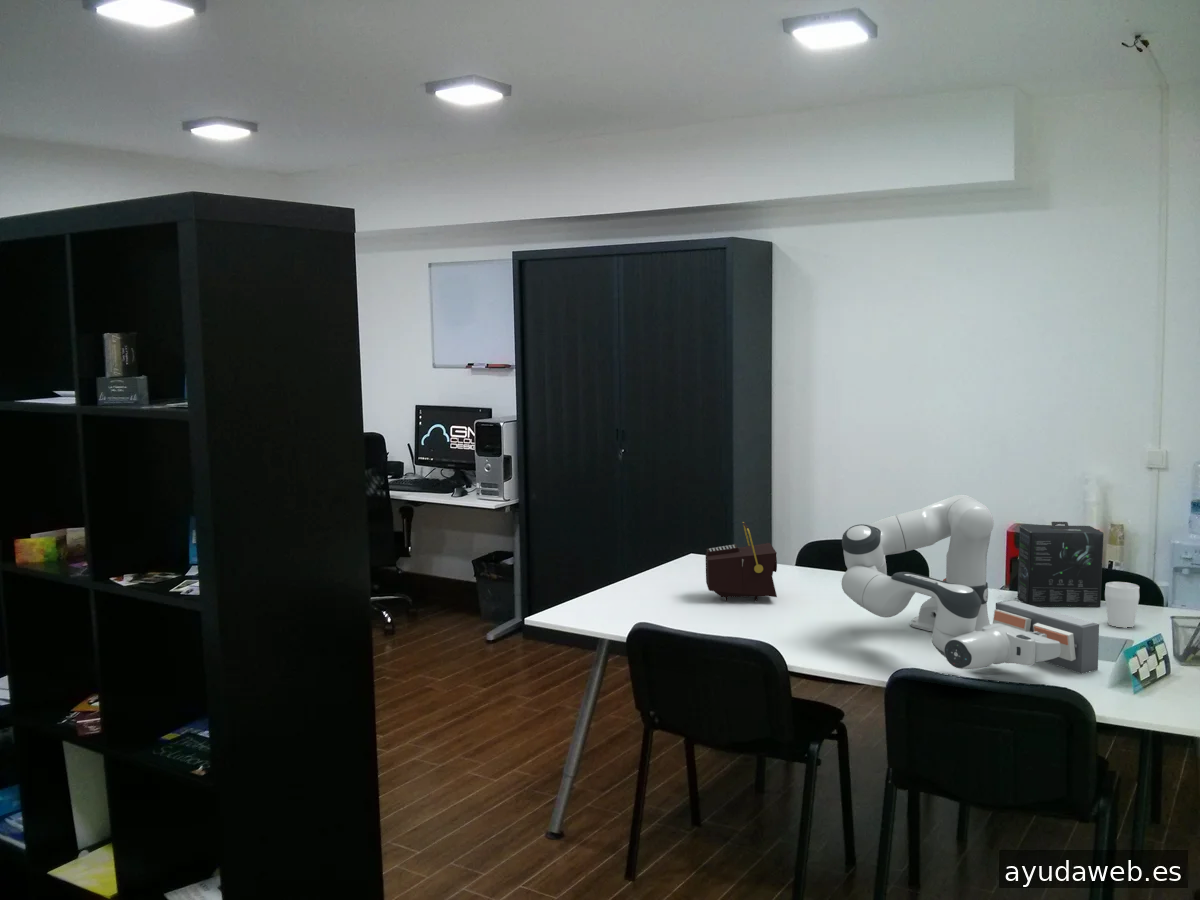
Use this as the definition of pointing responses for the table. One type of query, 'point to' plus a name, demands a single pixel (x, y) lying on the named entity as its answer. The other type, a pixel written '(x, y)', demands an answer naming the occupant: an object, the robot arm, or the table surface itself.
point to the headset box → (1060, 565)
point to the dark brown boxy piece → (741, 570)
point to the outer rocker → (1061, 636)
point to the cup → (1121, 603)
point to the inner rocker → (1012, 620)
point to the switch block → (1081, 629)
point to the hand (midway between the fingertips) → (1042, 635)
